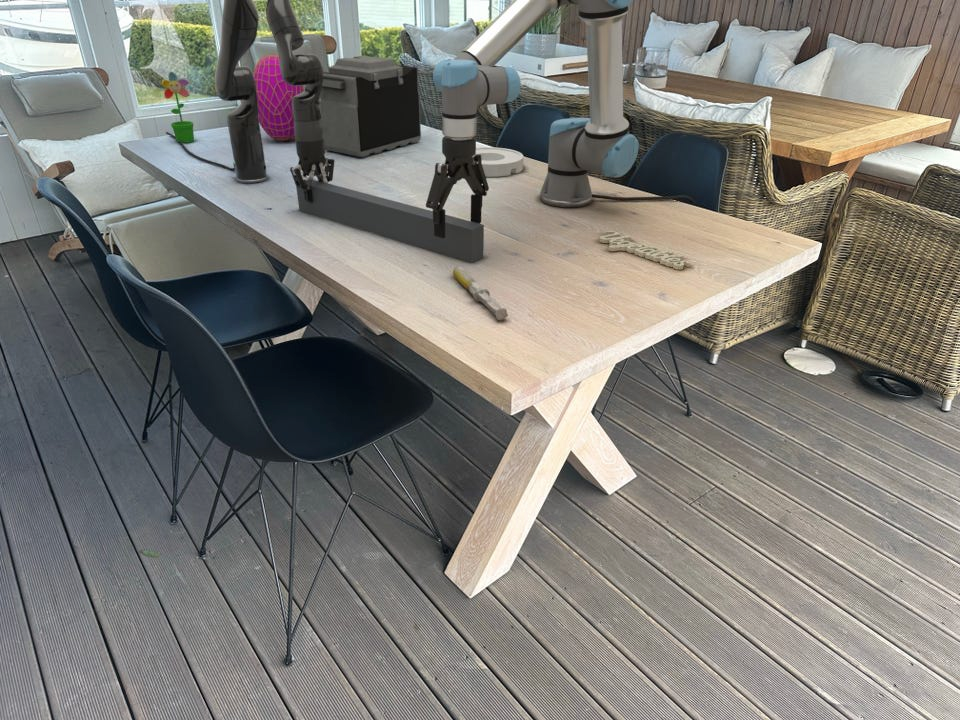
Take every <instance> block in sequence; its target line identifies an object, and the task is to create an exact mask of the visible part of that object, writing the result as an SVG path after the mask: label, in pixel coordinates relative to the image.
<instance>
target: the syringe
mask: <svg viewBox="0 0 960 720" xmlns="http://www.w3.org/2000/svg"><path fill="white" fill-rule="evenodd" d="M452 274H453V277H454V279H455V280H457V281H458V282H459V283H460V285H462V287H464V289H466V290H467V291H468V293H470V295H471V296H472V298H473V300H474V302H477V303H478V302H480V303H482V304H483V305H484V306H485V307H486V308H487V309H488V310H489V311H490V312H491V313H492V314H493V315H494V316H495V317H496V320H497V321H503V320H504V319H506V318H507V317H509V314H508V310H507V308H506V307H502V306H501V305H500V303H498V302H497V301H496V300H494V299H493V298H492V297H491V296H490V295H491V293H490V290H488V289H486V288H483V287H482V286H481V285H480V284H479V283H478V282H477V281H476V280H474V278H473V277H471V275H469V274H468V273H467V272H466V270H465V269H464V268H463V267H462V266H456V267H454V268H453V271H452Z"/></svg>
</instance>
